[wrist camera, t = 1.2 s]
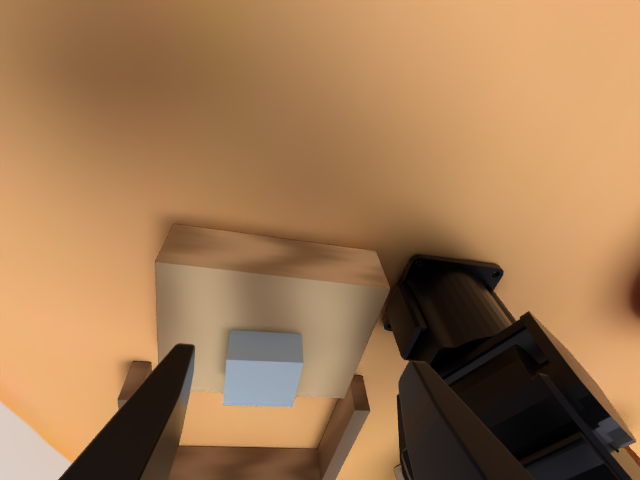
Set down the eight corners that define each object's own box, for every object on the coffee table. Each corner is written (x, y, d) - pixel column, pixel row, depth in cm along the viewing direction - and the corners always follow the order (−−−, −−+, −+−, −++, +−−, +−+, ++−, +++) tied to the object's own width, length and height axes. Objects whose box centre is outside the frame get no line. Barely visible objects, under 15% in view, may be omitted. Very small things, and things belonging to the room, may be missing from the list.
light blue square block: (301, 334, 21) (303, 362, 19) (291, 377, 23) (292, 406, 21) (230, 329, 20) (226, 359, 18) (227, 374, 22) (223, 405, 20)
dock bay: (362, 375, 29) (370, 410, 26) (326, 455, 36) (330, 489, 33) (133, 361, 26) (117, 399, 23) (140, 452, 32) (129, 489, 30)
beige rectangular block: (374, 247, 23) (390, 288, 19) (336, 351, 28) (343, 398, 24) (175, 219, 20) (155, 261, 17) (175, 339, 25) (159, 389, 22)
